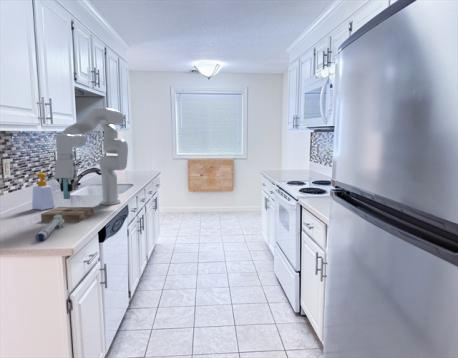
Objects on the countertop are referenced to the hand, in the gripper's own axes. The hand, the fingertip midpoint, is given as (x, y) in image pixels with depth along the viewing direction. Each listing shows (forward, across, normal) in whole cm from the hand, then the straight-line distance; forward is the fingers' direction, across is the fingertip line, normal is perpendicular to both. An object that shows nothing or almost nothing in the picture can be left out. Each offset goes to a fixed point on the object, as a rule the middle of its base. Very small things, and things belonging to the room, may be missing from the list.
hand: (66, 190), depth 173 cm
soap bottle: (+15, +27, -19) cm, 36 cm away
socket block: (+15, 0, -1) cm, 15 cm away
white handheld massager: (+16, -6, +26) cm, 32 cm away
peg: (+4, 0, 0) cm, 4 cm away
